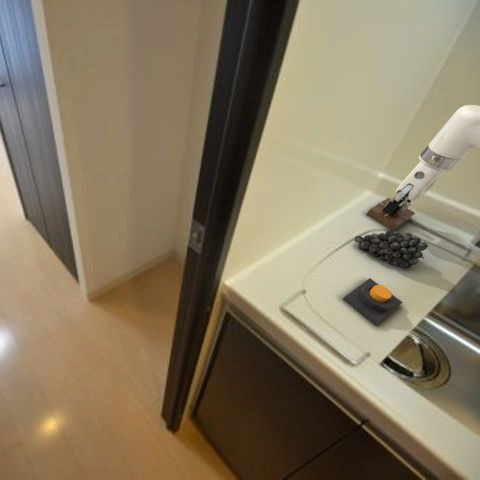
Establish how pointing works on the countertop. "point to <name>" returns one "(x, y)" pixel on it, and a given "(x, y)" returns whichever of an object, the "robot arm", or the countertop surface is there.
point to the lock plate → (388, 216)
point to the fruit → (393, 247)
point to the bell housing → (370, 302)
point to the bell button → (380, 293)
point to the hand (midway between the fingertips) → (392, 209)
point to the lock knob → (404, 208)
